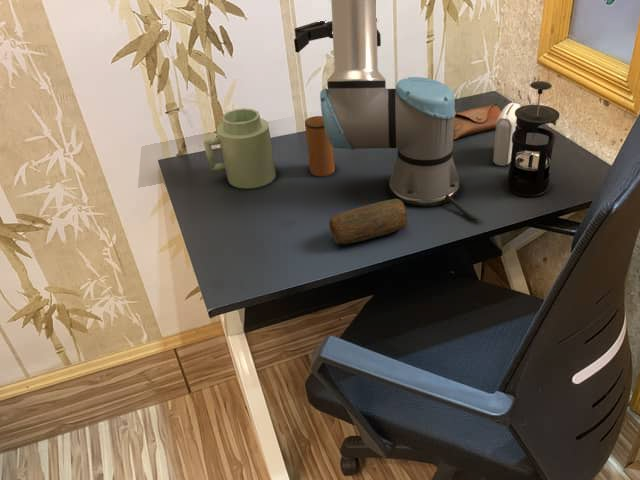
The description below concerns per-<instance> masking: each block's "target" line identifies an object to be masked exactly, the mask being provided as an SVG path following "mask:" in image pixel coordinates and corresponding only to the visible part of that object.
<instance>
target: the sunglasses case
mask: <svg viewBox="0 0 640 480" xmlns="http://www.w3.org/2000/svg"><path fill="white" fill-rule="evenodd" d="M501 111H502V110H501V109H500V107H498V103H493V104H491V105H486V106H482V107H476V108H471V109H467V110H463V111H458V112H455V117H454V130H453V140H458V139H462V138H464V137H468V136H473V135H477V134H481V133H486V132H487V133H488V132H492V131H496V123H497V119H498V117H499V115H500V113H501Z"/></svg>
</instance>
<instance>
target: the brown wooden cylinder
mask: <svg viewBox="0 0 640 480" xmlns="http://www.w3.org/2000/svg"><path fill="white" fill-rule="evenodd" d="M407 225H408V212H407V209H406V206H405V203H403V202H402V201H401V200H399V199H395V198H392V199H386V200H383V201H378V202H375V203H371V204H367V205H364V206H359V207H355V208H353V209H349V210H346V211H343V212H340V213H338V214H335V215H334V216H332V217H331V218H330V219H329V220H328V226H329V230H330V232H331V235H332V237H333V239H334V242H335V244H336V245H349V244H352V243H360V242H363V241H367V240H370V239H375V238H378V237H383V236H385V235H386V236H387V235H389V234H391V233H394V232H398V231H400V230H403V229H404V228H405V227H406V226H407Z"/></svg>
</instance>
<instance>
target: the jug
mask: <svg viewBox="0 0 640 480" xmlns="http://www.w3.org/2000/svg"><path fill="white" fill-rule="evenodd" d="M221 120H222V122H221V123H220V124H219V125H218V126H217V127H216V133H217V137H214V138H213V137H212V138H205V139H204V140H203V147H204V151H205V155H206V160H207V165H208V168H209V170H210V172H211V171H212V172H216V171H223V170H224V171H225V174H226V179H227V182H228V183H229V185H231V186H233V187H235V188H239V189H257V188H262V187H264V186H266V185H269V184H270V183H272V182H273V181H274V180H275V179H276V177H277V170H276V163H275V157H274V151H273V145H272V144H273V143H272V139H271V132H270V126H269V122H268V121H267V120H265V119H264V118H261V116H260V112H259V111H258V110H256V109H254V108H246V107H245V108H234V109H232V110H230V111H227V112H224V114H223V115H222V116H221ZM217 145H219V147H220V152H221V155H222V160H223V162H221V163H216V162H215V158H214V151H213V149H212V146H217Z"/></svg>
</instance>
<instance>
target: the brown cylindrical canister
mask: <svg viewBox="0 0 640 480" xmlns="http://www.w3.org/2000/svg"><path fill="white" fill-rule="evenodd" d="M304 126H305V136H306V144H307V153H308V163H309V170H310V174H311V175H313V176H316V177H328V176H330V175H333V173H334V172H335V170H336V169H335V168H336V167H335V157H334V147H333V146H332V145H331V144H330V142H329V141H328V138H327V135H326V132H325V127H324V123H323V118H322V115H314V116H310V117H307V118H306V119H305V120H304Z"/></svg>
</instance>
